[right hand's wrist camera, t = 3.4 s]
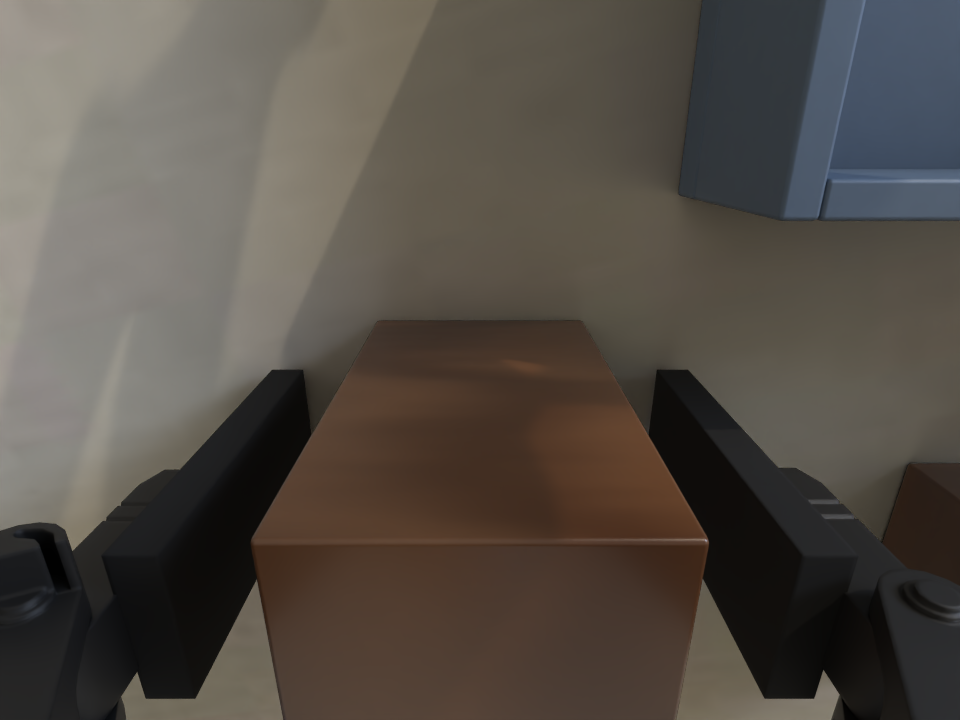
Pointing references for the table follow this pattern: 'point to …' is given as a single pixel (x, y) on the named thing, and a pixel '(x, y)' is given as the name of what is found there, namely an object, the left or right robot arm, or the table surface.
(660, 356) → the table surface
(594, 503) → the walnut block
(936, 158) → the tray
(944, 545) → the walnut block
